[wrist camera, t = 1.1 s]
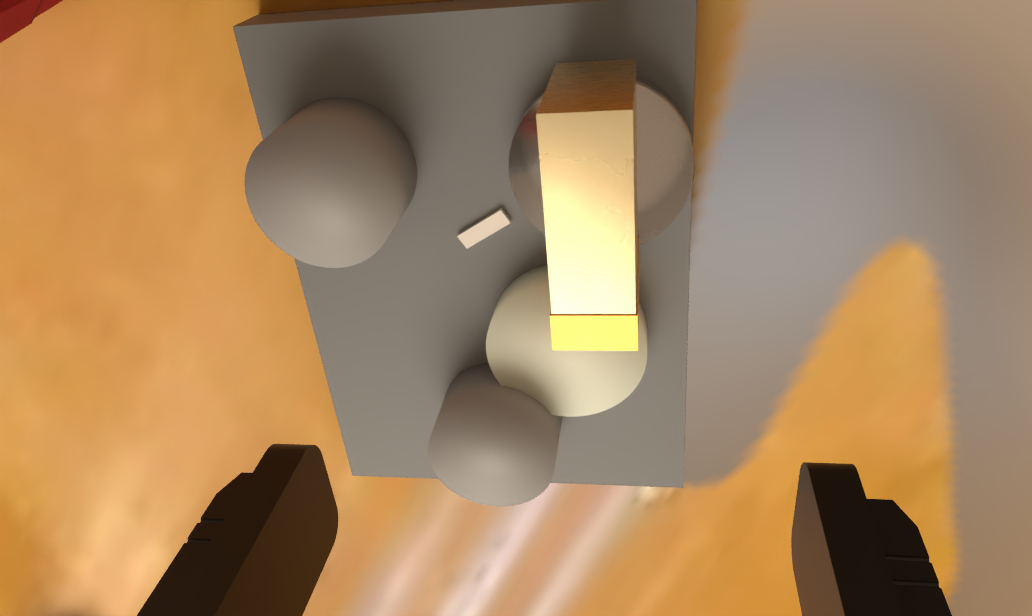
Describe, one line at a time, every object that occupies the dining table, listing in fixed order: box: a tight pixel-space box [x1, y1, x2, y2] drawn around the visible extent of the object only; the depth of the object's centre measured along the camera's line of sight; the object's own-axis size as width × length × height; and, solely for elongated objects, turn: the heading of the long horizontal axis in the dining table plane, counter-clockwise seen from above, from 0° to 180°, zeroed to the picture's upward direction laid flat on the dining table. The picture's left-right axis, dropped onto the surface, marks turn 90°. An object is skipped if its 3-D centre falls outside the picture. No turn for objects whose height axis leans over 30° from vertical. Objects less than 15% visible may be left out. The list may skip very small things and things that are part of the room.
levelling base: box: [233, 0, 697, 507], centre depth 29 cm, size 20×15×5 cm
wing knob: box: [509, 59, 694, 351], centre depth 23 cm, size 7×6×6 cm
